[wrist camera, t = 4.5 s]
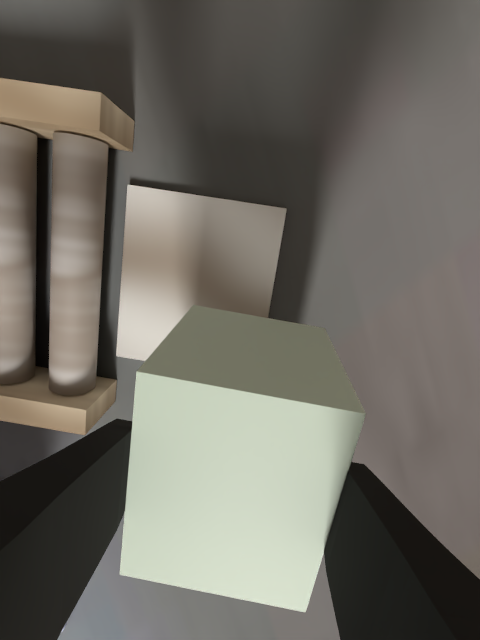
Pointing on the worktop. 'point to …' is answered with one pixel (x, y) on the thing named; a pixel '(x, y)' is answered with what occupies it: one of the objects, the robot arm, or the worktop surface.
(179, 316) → the roller bed
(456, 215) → the worktop surface
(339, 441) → the block
